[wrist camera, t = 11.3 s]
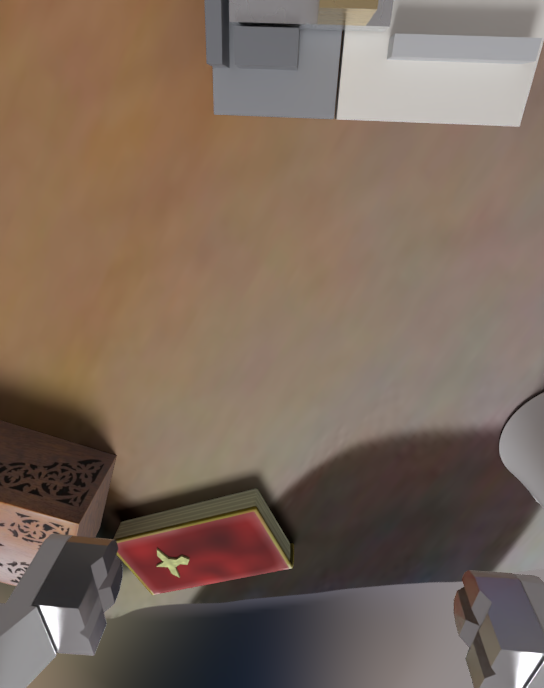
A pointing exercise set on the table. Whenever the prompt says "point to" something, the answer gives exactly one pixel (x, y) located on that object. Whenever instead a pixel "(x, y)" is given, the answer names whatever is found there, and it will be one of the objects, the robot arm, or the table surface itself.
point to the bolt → (313, 14)
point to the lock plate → (383, 65)
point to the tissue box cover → (46, 493)
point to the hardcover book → (204, 543)
